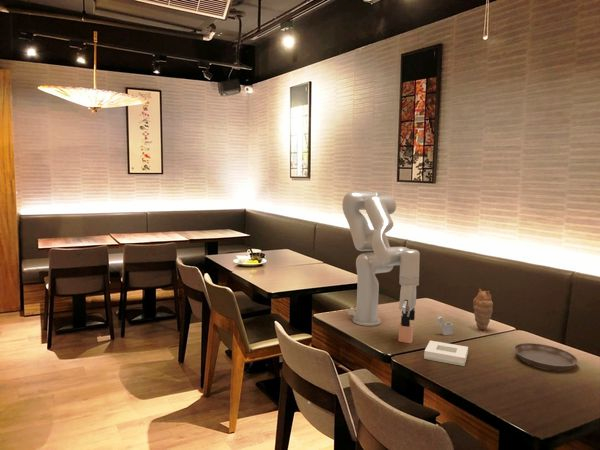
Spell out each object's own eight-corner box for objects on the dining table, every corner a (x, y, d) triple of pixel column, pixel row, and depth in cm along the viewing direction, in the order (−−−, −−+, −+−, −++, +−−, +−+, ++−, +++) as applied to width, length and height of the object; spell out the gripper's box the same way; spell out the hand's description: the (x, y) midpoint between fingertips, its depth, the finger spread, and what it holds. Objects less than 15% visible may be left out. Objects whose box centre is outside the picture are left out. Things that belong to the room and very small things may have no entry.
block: (398, 341, 188) (399, 324, 187) (400, 338, 190) (400, 322, 190) (410, 343, 186) (411, 326, 185) (412, 341, 188) (413, 324, 188)
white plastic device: (450, 333, 199) (451, 315, 198) (452, 334, 197) (454, 316, 196) (435, 334, 197) (436, 315, 196) (437, 335, 195) (439, 317, 195)
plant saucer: (576, 358, 175) (577, 350, 174) (577, 379, 157) (577, 369, 157) (516, 347, 185) (517, 339, 185) (510, 365, 167) (511, 356, 167)
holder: (424, 358, 170) (424, 350, 170) (429, 347, 181) (430, 340, 181) (464, 366, 165) (465, 358, 164) (467, 354, 175) (468, 346, 175)
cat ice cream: (467, 328, 206) (470, 288, 204) (480, 325, 210) (483, 286, 208) (483, 334, 198) (486, 293, 196) (496, 332, 202) (499, 291, 200)
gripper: (404, 276, 194) (403, 316, 196) (394, 283, 179) (393, 327, 180) (422, 277, 191) (421, 318, 193) (414, 285, 176) (413, 330, 177)
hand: (407, 322), depth 186 cm, fingers open, 9 cm apart
